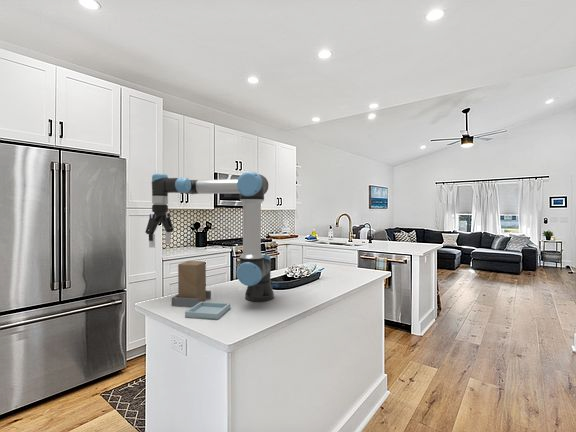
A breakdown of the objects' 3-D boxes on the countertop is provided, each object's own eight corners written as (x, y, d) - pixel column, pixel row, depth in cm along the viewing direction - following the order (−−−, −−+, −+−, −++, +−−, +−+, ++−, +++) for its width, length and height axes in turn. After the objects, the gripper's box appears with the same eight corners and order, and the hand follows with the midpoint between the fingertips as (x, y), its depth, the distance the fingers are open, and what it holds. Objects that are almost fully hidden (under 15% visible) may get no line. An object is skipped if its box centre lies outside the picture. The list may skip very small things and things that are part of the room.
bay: (210, 298, 162) (210, 290, 162) (197, 307, 148) (197, 299, 147) (187, 297, 165) (187, 289, 165) (171, 305, 150) (171, 297, 150)
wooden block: (196, 305, 150) (196, 264, 150) (178, 304, 152) (177, 264, 152) (206, 299, 160) (206, 261, 160) (188, 298, 162) (188, 260, 162)
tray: (230, 308, 146) (230, 303, 146) (217, 319, 131) (217, 314, 131) (200, 306, 149) (200, 301, 149) (185, 317, 134) (184, 311, 134)
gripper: (167, 204, 172) (167, 242, 172) (137, 204, 147) (137, 248, 148) (179, 204, 170) (180, 243, 171) (151, 204, 146) (151, 249, 146)
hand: (160, 245), depth 159 cm, fingers open, 13 cm apart
